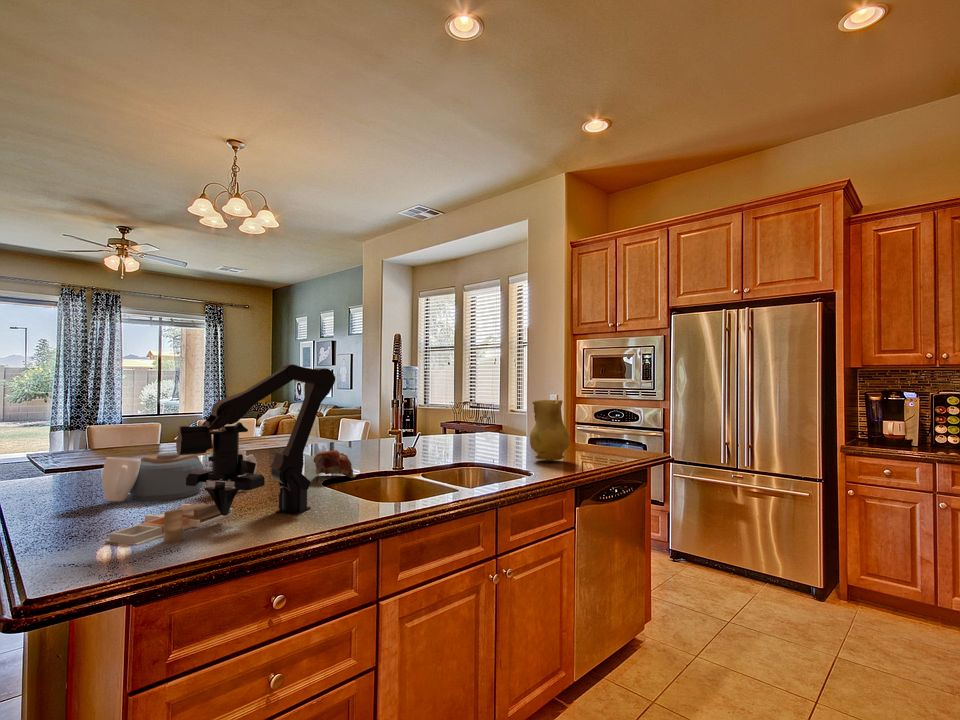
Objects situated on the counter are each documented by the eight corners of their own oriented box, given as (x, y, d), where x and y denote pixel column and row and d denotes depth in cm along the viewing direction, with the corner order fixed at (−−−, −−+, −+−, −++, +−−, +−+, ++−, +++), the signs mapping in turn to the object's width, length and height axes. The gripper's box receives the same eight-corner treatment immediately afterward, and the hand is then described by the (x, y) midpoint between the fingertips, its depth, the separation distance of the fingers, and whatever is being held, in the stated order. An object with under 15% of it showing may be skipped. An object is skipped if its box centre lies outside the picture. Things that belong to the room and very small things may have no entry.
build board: (192, 528, 119) (192, 518, 119) (137, 549, 105) (137, 537, 106) (162, 525, 121) (162, 515, 121) (105, 544, 108) (105, 533, 108)
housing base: (232, 516, 129) (232, 508, 129) (197, 529, 119) (197, 520, 119) (182, 511, 133) (182, 503, 134) (144, 523, 123) (144, 515, 123)
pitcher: (528, 460, 211) (528, 401, 211) (531, 453, 229) (531, 398, 229) (569, 462, 208) (569, 401, 208) (569, 454, 226) (569, 399, 227)
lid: (226, 511, 128) (226, 500, 128) (197, 521, 120) (198, 510, 120) (194, 508, 131) (195, 497, 131) (164, 517, 123) (164, 506, 123)
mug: (95, 498, 140) (105, 456, 142) (131, 498, 145) (139, 458, 147) (97, 504, 131) (107, 459, 133) (135, 504, 136) (144, 461, 138)
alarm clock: (205, 483, 165) (205, 447, 166) (202, 497, 147) (203, 456, 148) (135, 489, 157) (135, 451, 157) (123, 505, 139) (124, 461, 139)
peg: (185, 542, 110) (186, 510, 110) (172, 547, 106) (173, 514, 107) (173, 540, 111) (174, 508, 111) (159, 546, 107) (160, 513, 108)
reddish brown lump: (361, 475, 180) (362, 447, 180) (339, 483, 168) (339, 453, 168) (325, 472, 186) (326, 445, 186) (301, 479, 174) (302, 450, 174)
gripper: (279, 448, 129) (278, 509, 128) (219, 445, 134) (218, 503, 133) (248, 455, 118) (247, 522, 118) (184, 451, 123) (183, 515, 123)
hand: (224, 515), depth 123 cm, fingers closed
